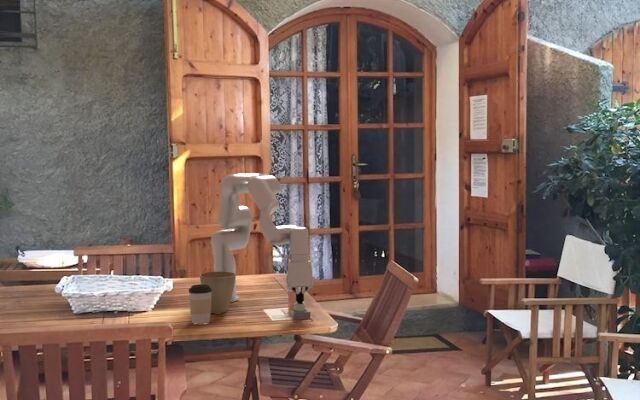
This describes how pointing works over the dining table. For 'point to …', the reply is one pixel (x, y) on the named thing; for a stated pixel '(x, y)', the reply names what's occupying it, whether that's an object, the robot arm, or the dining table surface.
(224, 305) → the plant pot
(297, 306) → the button
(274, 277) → the dining table surface
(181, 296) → the dining table surface
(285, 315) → the colouring board
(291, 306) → the marker
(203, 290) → the coffee cup
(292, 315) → the button housing
